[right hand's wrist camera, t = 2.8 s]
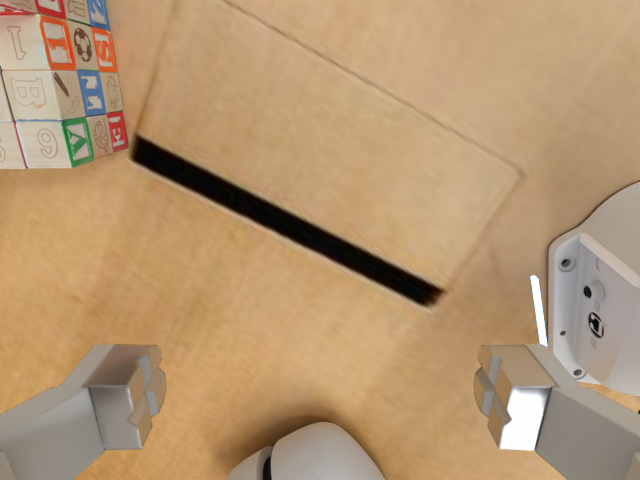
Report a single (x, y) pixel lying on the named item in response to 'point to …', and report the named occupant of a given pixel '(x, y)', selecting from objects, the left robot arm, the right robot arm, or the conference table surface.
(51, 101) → the stack of blocks
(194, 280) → the conference table surface
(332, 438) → the grey plastic rounded block
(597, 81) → the conference table surface
